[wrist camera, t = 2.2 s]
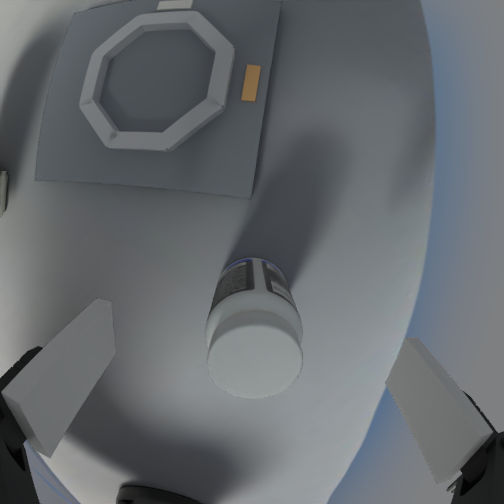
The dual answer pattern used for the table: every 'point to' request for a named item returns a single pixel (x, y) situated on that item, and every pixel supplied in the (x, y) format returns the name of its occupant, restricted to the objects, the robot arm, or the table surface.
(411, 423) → the robot arm
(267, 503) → the table surface
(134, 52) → the slate board
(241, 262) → the pill bottle
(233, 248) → the table surface
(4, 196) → the pneumatic valve
